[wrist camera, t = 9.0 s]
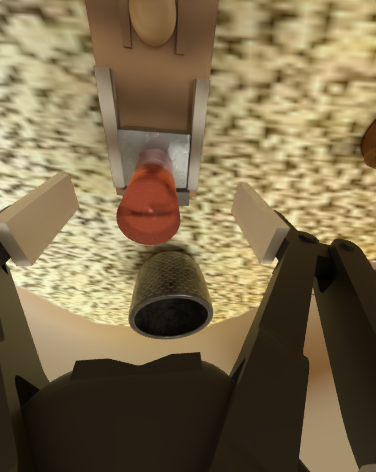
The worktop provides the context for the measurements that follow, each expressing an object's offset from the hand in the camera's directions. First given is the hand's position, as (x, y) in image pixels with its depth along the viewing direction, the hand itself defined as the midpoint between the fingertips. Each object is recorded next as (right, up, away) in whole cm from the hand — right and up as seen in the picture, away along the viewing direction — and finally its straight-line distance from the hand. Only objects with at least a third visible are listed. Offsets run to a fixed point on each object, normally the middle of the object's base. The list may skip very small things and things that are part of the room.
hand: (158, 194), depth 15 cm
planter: (-2, -9, +25) cm, 27 cm away
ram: (-2, +8, +9) cm, 12 cm away
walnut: (-1, +17, +2) cm, 17 cm away
